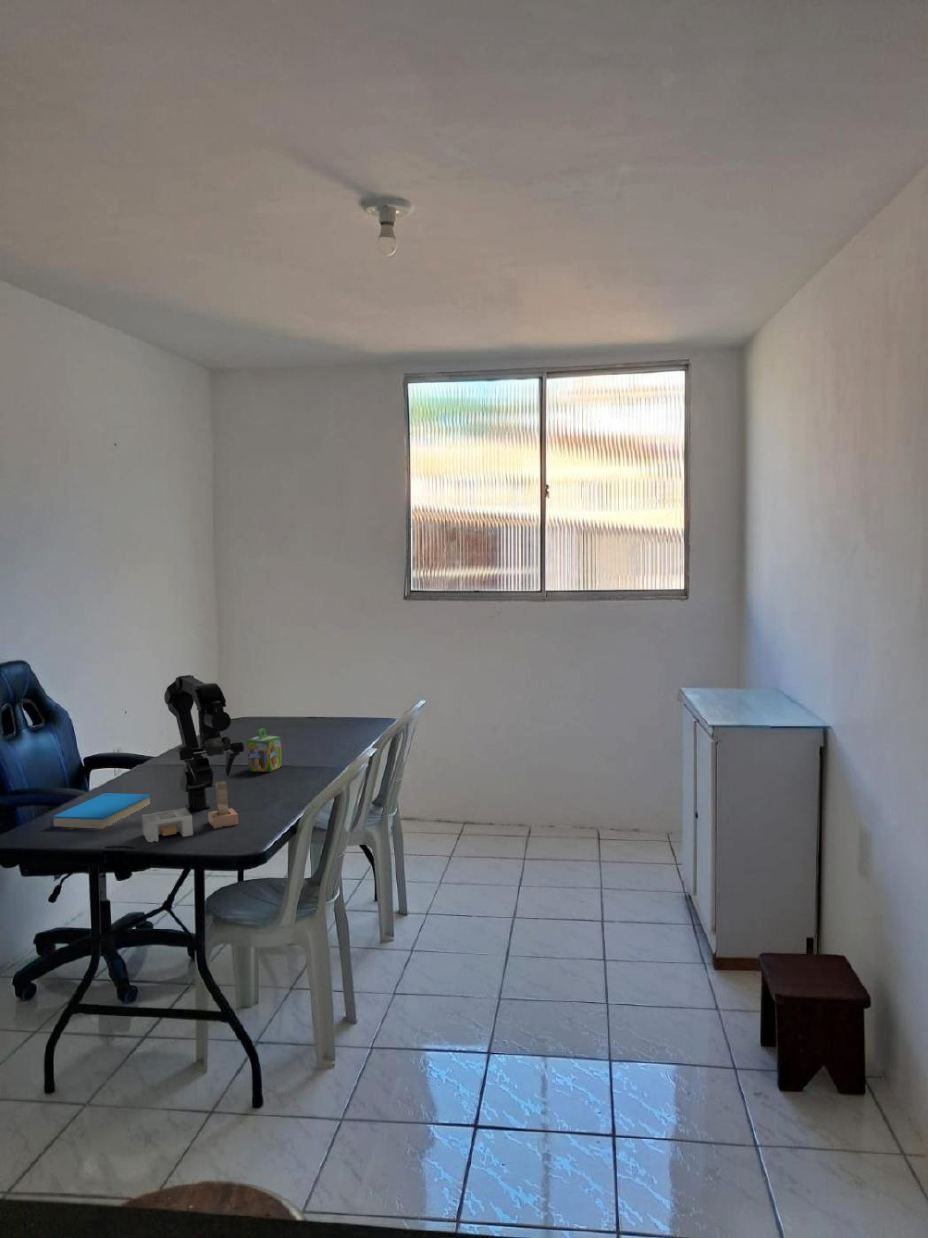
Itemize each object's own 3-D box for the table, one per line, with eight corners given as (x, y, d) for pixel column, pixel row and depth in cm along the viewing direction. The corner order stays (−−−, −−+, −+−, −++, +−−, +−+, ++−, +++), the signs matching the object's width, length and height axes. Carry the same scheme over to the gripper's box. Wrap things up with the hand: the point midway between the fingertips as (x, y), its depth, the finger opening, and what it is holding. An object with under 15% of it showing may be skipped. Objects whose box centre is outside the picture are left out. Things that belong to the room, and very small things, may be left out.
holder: (208, 822, 268) (208, 812, 267) (232, 818, 271) (231, 808, 271) (214, 828, 261) (213, 818, 261) (238, 824, 265) (237, 814, 264)
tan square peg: (217, 823, 267) (215, 782, 266) (226, 821, 268) (224, 781, 267) (220, 825, 264) (217, 784, 263) (229, 823, 266) (226, 783, 265)
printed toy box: (270, 773, 325) (267, 732, 324) (247, 771, 328) (245, 731, 327) (283, 766, 334) (281, 726, 332) (261, 765, 337) (259, 726, 335)
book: (150, 794, 288) (103, 816, 264) (151, 807, 289) (104, 831, 264) (102, 793, 292) (51, 815, 268) (103, 806, 292) (52, 829, 268)
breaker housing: (143, 834, 258) (141, 815, 258) (186, 827, 264) (185, 808, 263) (148, 843, 250) (147, 823, 249) (193, 835, 255) (192, 816, 255)
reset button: (160, 832, 257) (160, 827, 257) (173, 830, 258) (173, 825, 258) (163, 836, 254) (162, 830, 253) (176, 833, 255) (176, 828, 255)
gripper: (182, 735, 258) (185, 789, 259) (247, 726, 267) (250, 779, 268) (174, 728, 268) (177, 781, 269) (237, 721, 277) (240, 771, 278)
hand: (212, 778), depth 271 cm, fingers open, 9 cm apart
